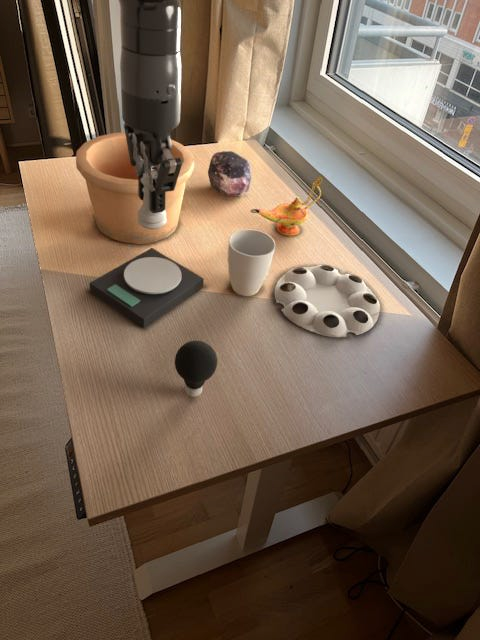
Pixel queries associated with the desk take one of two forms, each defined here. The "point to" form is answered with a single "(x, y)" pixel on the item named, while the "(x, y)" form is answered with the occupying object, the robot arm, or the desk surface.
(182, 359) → the light bulb
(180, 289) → the scale
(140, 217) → the rook chess piece
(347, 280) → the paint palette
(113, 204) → the pottery
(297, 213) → the magic lamp
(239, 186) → the mineral specimen
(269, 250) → the cup
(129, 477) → the desk surface
